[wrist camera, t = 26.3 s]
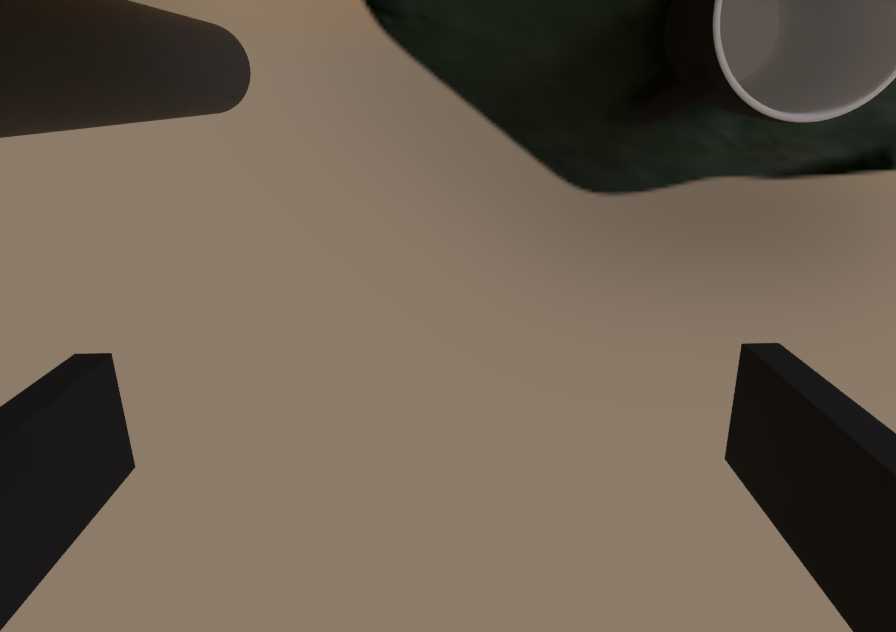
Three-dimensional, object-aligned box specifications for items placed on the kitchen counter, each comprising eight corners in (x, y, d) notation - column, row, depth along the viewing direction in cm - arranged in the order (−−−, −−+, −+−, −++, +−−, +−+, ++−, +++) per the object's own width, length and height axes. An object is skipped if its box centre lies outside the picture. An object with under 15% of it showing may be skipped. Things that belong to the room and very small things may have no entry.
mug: (758, -102, 33) (882, -177, 24) (832, 48, 36) (972, 33, 26) (565, 46, 36) (607, 32, 26) (647, 177, 38) (713, 207, 29)
